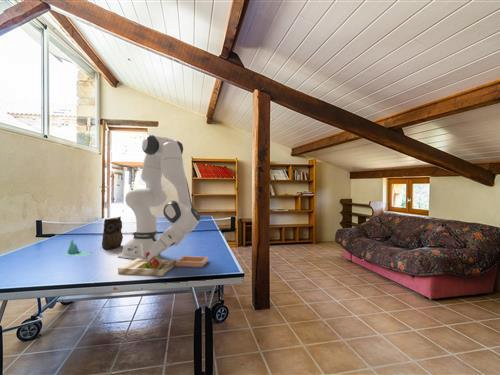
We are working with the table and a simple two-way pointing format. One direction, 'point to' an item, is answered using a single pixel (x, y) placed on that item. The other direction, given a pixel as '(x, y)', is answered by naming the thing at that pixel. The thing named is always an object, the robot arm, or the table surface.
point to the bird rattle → (155, 263)
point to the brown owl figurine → (112, 233)
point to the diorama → (75, 250)
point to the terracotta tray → (191, 261)
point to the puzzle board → (137, 268)
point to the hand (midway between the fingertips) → (153, 255)
